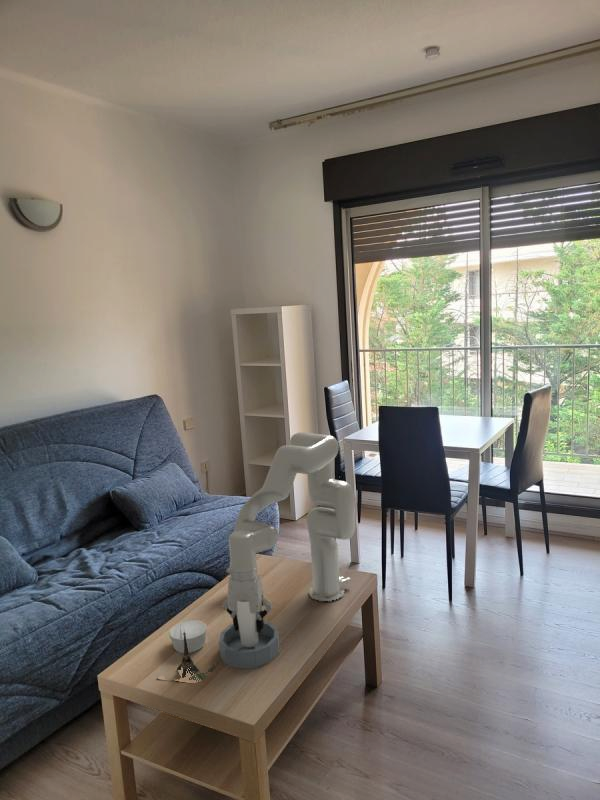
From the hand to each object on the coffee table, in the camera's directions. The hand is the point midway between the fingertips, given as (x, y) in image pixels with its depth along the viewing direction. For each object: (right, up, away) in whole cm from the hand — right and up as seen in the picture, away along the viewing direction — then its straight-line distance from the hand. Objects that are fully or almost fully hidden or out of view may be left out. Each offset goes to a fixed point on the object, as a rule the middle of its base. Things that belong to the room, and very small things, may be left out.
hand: (248, 628), depth 173 cm
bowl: (0, -7, +1) cm, 7 cm away
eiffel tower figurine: (-17, -10, -7) cm, 21 cm away
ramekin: (-19, -8, +6) cm, 21 cm away
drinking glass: (0, -5, +1) cm, 5 cm away
